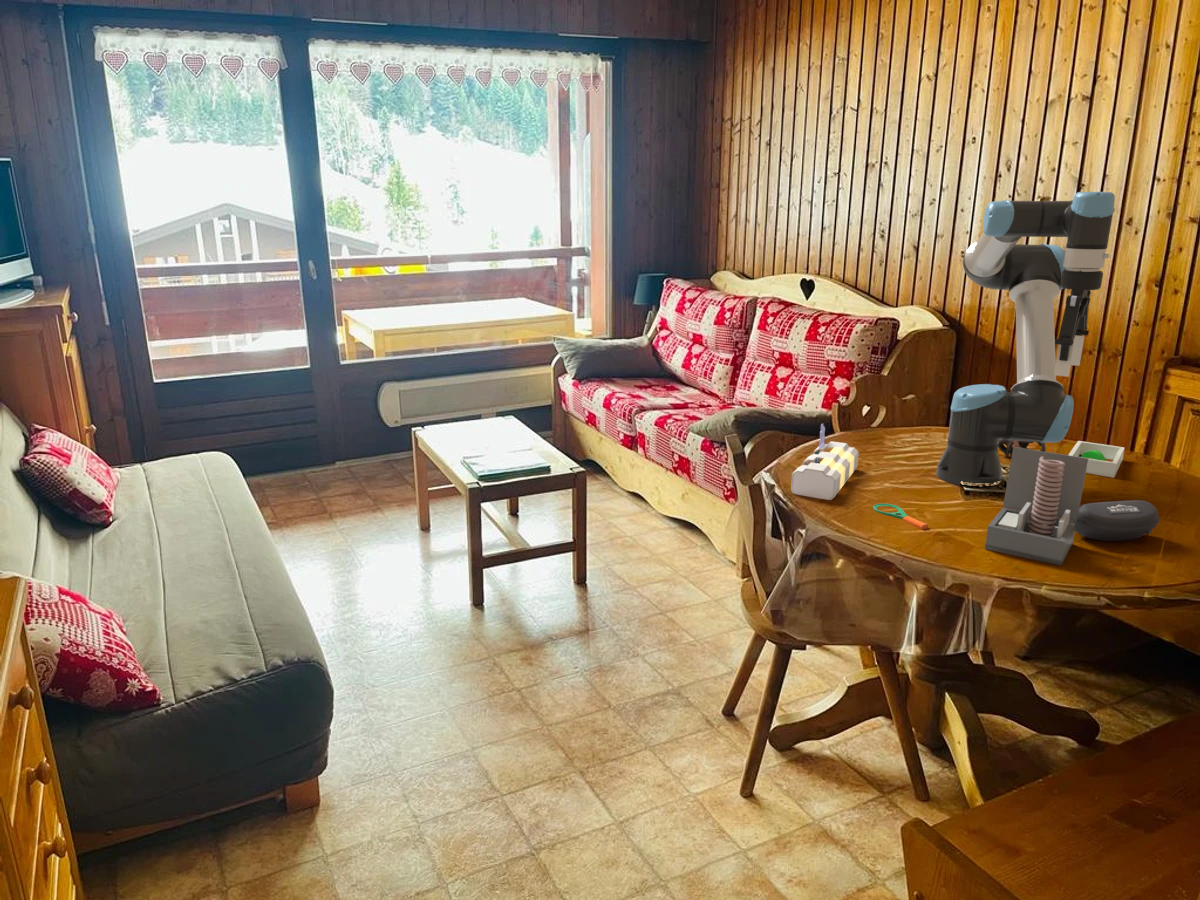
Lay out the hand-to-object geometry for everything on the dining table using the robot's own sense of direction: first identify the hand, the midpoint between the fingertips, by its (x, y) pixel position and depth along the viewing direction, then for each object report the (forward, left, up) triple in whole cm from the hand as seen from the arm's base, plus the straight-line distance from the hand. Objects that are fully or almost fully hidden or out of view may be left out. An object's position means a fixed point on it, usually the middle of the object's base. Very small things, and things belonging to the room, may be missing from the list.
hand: (1067, 370), depth 186 cm
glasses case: (+14, -7, -33) cm, 36 cm away
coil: (+3, -22, -32) cm, 39 cm away
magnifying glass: (-25, -22, -33) cm, 47 cm away
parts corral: (+4, +44, -33) cm, 55 cm away
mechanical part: (+6, +36, -35) cm, 51 cm away
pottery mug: (-14, +38, -34) cm, 53 cm away
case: (+1, -22, -33) cm, 40 cm away
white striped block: (-48, -10, -33) cm, 59 cm away
